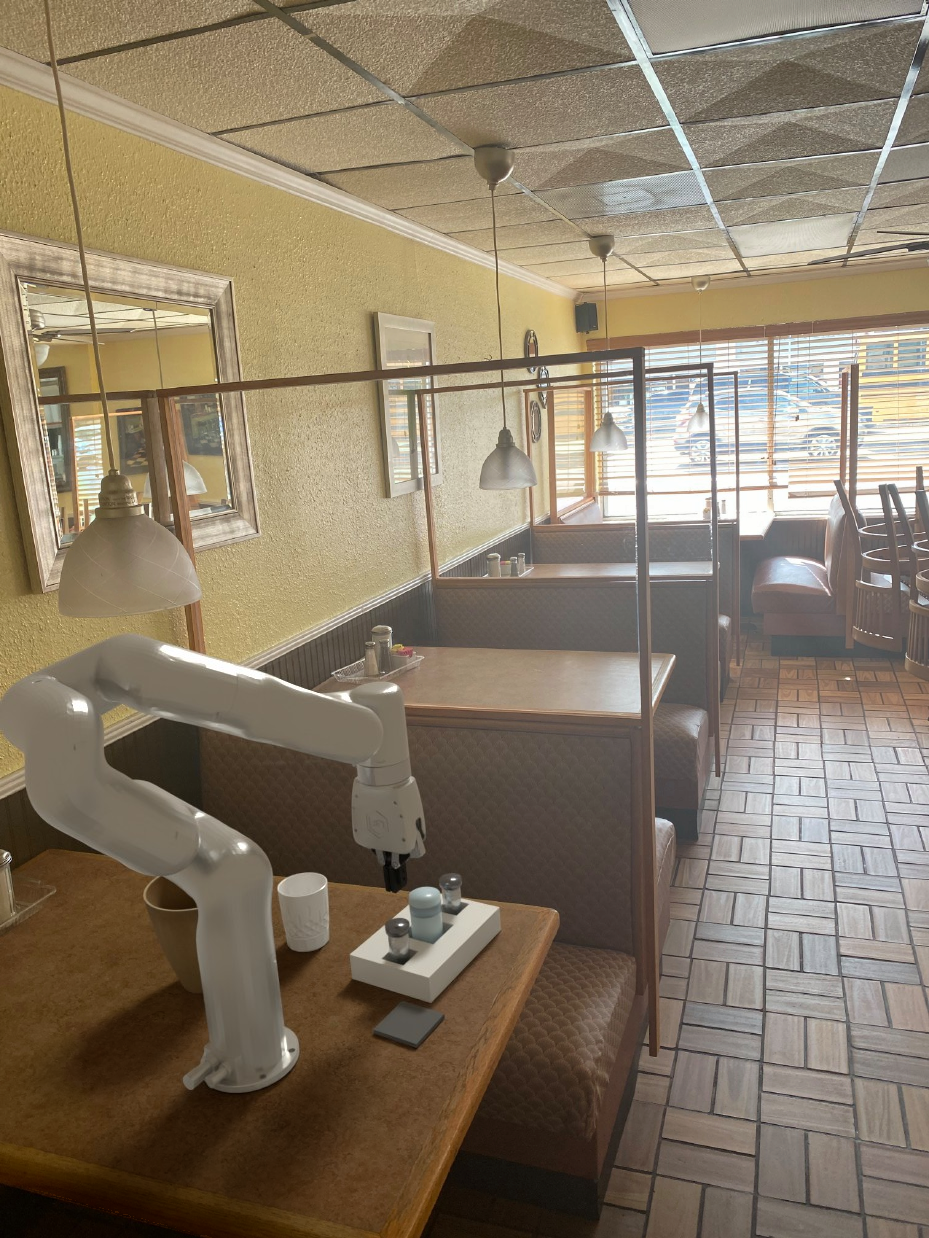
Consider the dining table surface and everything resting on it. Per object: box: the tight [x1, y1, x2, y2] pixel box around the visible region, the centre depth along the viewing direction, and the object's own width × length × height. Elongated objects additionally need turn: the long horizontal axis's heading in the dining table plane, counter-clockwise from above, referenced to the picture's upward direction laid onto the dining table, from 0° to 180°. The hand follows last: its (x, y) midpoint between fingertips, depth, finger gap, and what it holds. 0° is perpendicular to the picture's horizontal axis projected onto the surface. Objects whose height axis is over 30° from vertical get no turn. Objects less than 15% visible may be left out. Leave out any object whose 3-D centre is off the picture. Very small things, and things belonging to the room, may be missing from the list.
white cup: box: [276, 872, 330, 953], centre depth 147 cm, size 8×8×10 cm
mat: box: [372, 1000, 445, 1049], centre depth 125 cm, size 7×7×1 cm
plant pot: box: [142, 876, 203, 994], centre depth 138 cm, size 15×15×16 cm
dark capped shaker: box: [438, 872, 463, 916], centre depth 147 cm, size 4×4×6 cm
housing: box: [349, 892, 502, 1004], centre depth 142 cm, size 21×14×4 cm, turn 150°
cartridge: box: [408, 886, 443, 944], centre depth 141 cm, size 5×5×10 cm
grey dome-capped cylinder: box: [384, 917, 410, 965], centre depth 135 cm, size 4×4×6 cm
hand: (396, 887), depth 133 cm, fingers closed
